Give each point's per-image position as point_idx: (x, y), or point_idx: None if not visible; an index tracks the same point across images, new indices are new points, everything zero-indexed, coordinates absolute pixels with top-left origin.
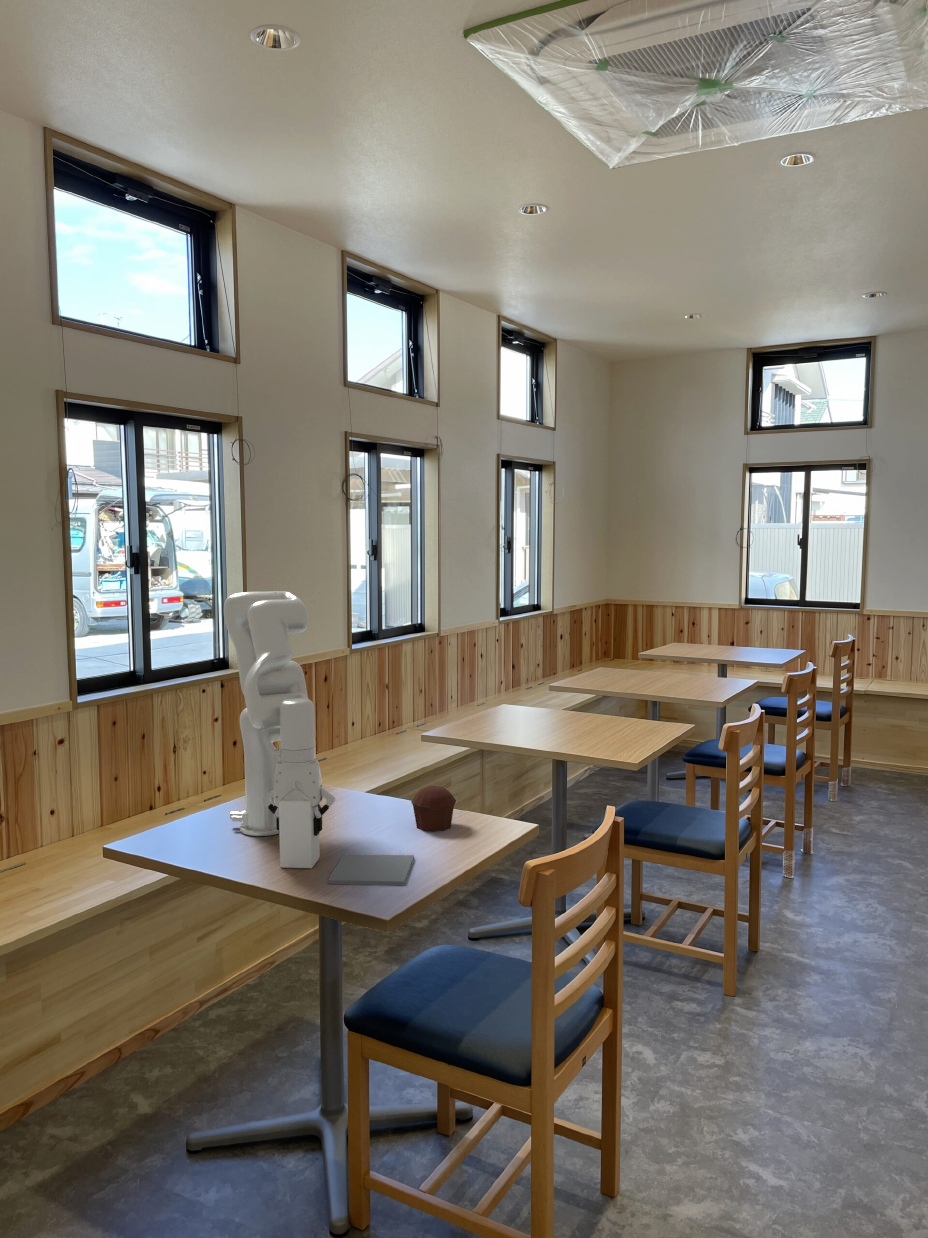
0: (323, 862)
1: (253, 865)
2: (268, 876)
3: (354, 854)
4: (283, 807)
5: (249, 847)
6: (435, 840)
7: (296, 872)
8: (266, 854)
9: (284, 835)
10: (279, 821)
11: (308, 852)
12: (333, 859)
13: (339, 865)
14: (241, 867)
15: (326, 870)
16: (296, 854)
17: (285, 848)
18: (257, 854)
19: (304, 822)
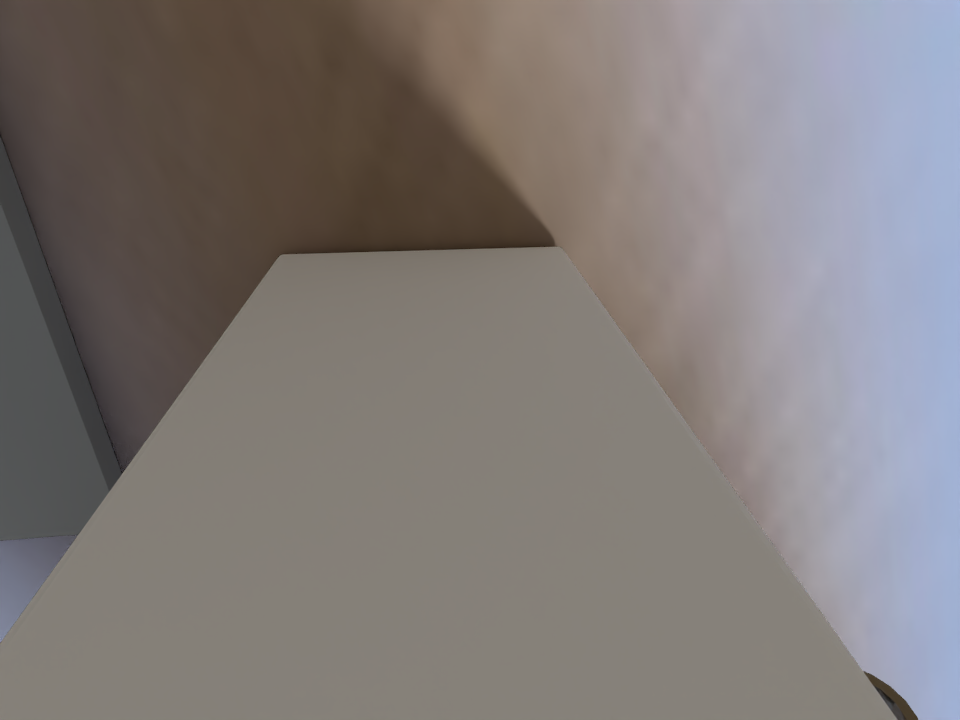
0: None
1: (792, 290)
2: (618, 31)
3: (33, 536)
4: None
5: (853, 590)
6: None
7: (387, 166)
8: None
9: (582, 381)
10: (751, 520)
11: (271, 306)
12: None
13: (8, 293)
14: (884, 237)
15: (135, 243)
16: (411, 292)
17: (539, 309)
18: (788, 494)
19: (201, 549)
